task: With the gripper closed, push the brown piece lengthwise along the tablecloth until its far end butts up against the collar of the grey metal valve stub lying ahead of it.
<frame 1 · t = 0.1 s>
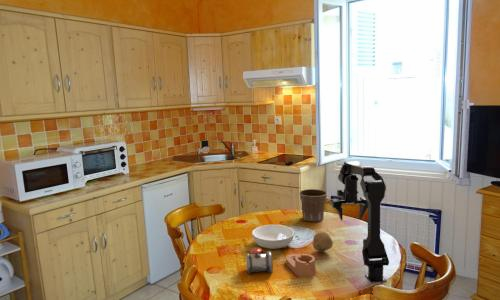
hand: (350, 219, 174), 15 cm above the table, fingers open, 9 cm apart
natural sponge: (322, 252, 174), on the table
plant pot: (313, 218, 219), on the table
valve stub: (259, 271, 158), on the table
serving bowl: (273, 245, 184), on the table
brown piece: (300, 269, 159), on the table
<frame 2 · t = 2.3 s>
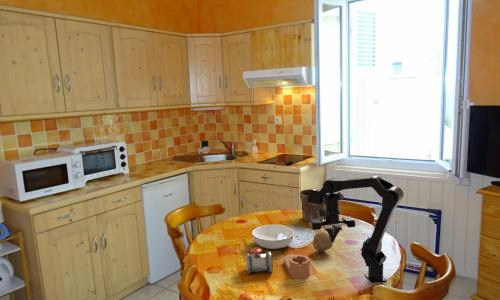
hand: (332, 242, 158), 11 cm above the table, fingers closed
brown piece: (296, 269, 158), on the table
everything else where it was.
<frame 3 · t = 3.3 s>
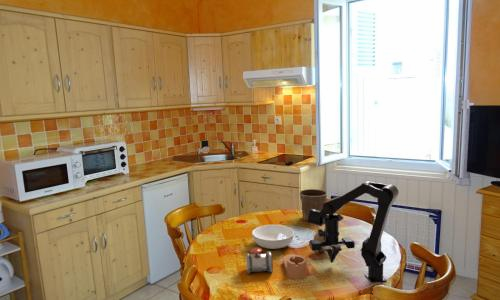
hand: (331, 262, 160), 2 cm above the table, fingers closed
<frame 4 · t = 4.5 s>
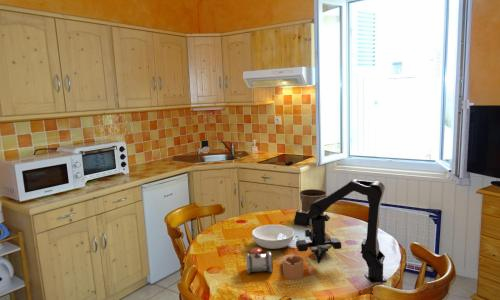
hand: (318, 262, 159), 2 cm above the table, fingers closed
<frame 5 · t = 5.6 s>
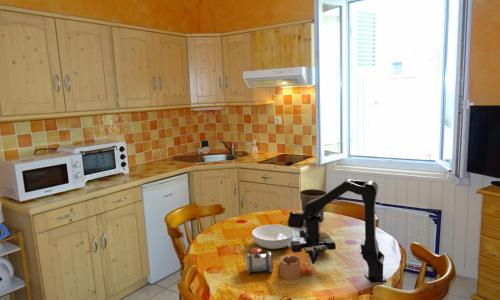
hand: (312, 263, 159), 2 cm above the table, fingers closed
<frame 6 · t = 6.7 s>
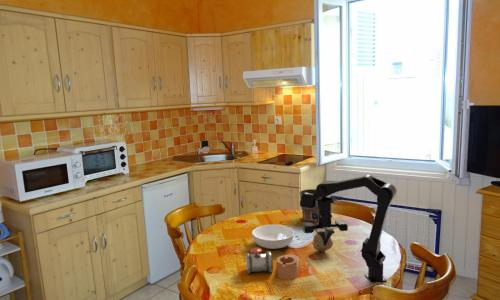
hand: (324, 245, 158), 10 cm above the table, fingers closed
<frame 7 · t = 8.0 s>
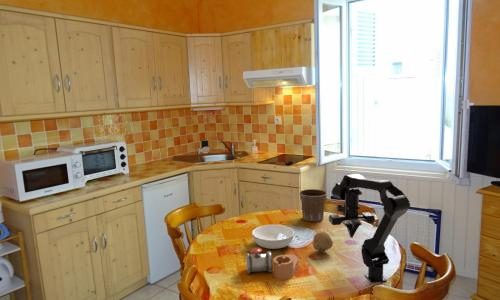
hand: (351, 237, 160), 12 cm above the table, fingers closed
brown piece: (286, 270, 159), on the table
everything else where it was.
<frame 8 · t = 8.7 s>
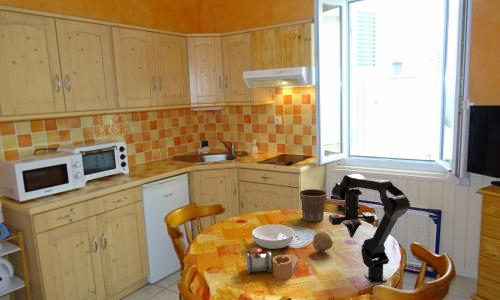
hand: (351, 237, 160), 12 cm above the table, fingers closed
brown piece: (285, 269, 159), on the table, touching valve stub
everything else where it was.
at the end: brown piece inside the target area (1.4 cm from its centre), on the table; brown piece moved 6.5 cm from its start; brown piece 11.6 cm from the valve stub (horizontally) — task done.
